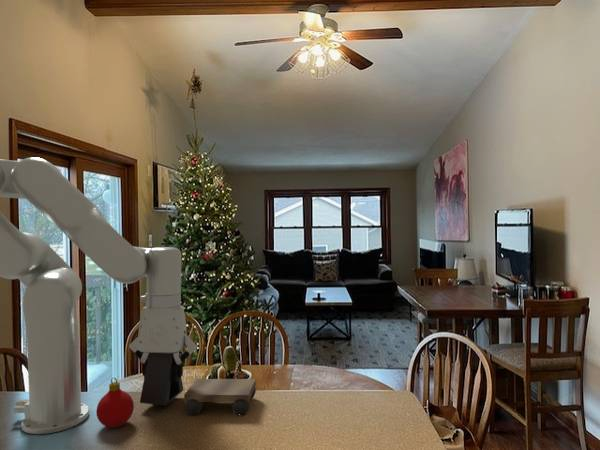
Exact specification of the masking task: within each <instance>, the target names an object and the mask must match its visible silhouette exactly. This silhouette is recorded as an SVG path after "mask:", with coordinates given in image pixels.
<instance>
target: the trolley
mask: <svg viewBox="0 0 600 450" xmlns="http://www.w3.org/2000/svg"><path fill="white" fill-rule="evenodd" d="M256 380H257V379H256V378H196V379H195V380H194V381H193V383H192V385H191V386H190V387H189V388H188V389H187V390H186V392H184V393H185V394H184V396H183V400H184V403H185V404H184V410H185V412H186V413H187V415H190V416H197V415H198V414H199V413H201V411H202V409H203V406H204V403H209V402H210V403H232V406H231V407H232V411H233V413H234V414H236V415H237V416H240V415H242V416H245V415H246V414H247V413H248V412H249V411H250V407H251V400H252V399H254V398H255V395H256V392H257V390H256V388H257V387H256V385H257V384H256ZM239 414H240V415H239Z"/></svg>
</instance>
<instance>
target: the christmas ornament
mask: <svg viewBox="0 0 600 450" xmlns="http://www.w3.org/2000/svg"><path fill="white" fill-rule="evenodd" d="M113 379H114V380H115V381H114V382H113ZM120 386H121V385H120V382H118V380H117V378H116V377H112V378H111V379H110V383H109V384H108V388H109V389H108V392H107V393H105V394H104V395H103V396H102V397H101V398H100V400H99V401H98V404H97V406H96V417H97V420H98V422H100V424H102V425H103V426H105V427H107V428H114V429H115V428H118V427H121V426H123V425H124V424H126V423H127V422H128V421H129V420H130V419H131V417H132V415H133V412H134V408H135V404H134V400H133V397H132V396H131V395H130V394H129V393H128V392H126V391H124V390H122V389H120Z"/></svg>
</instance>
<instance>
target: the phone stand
mask: <svg viewBox="0 0 600 450" xmlns="http://www.w3.org/2000/svg"><path fill="white" fill-rule="evenodd" d="M175 362H176V361H175V359H174V356H173V354H168V353H149V355H148V361H147V366H146V372H145V377H144V376H143V384H142V388H141V394H140V399H139V403H140V404H147V405H155V406H164V407H165V406H167V405H168V404H169V403H170V402H172V400H174V399H175V398H177V397H178V396H179V395H180V394H181V393H182V392H184V384H183V380H182V379H183V378H182V377H181V378H180V379H179V380H178V381H177V382H174V381H173V371H174V364H175Z"/></svg>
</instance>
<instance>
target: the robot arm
mask: <svg viewBox="0 0 600 450" xmlns="http://www.w3.org/2000/svg"><path fill="white" fill-rule="evenodd" d="M0 198H6V199H8V198H9V199H20V200H21V199H23V200H27V201H28V202H29V203H30V205H32V206H33V207H35V208H36V209H37V210H38V211H39V213H41V214H43V216H45V217H46V218H47V219H48V220H49V221H50V222H51V223H53V224H54V226H56V227H57V228H58V229H59V230H60V231H61V232H62V233H63V235H65V237H67V239H69V240H70V241H71V242H72V243H73V244H74V245H76V247H77V248H78V249H79V250H80V251H82V253H84V254H85V256H86V257H88V259H89V260H91V261H92V262H93V263H94V264H95V265H96V266H97V267H98V268H100V269H101V270H102V271H103V272H105V274H107V276H109V277H110V278H111V279H113V280H114V281H115V282H118V283H119V284H123V285H125V284H126V285H130V284H133V283H136V282H138V281H139V280H141V279H142V277H143V278H144V277H146V293H145V294H144V295H141V296H140V302H143V303H145V306H143V307H142V310H141V313H140V318H139V323H138V324H139V326H138V332H137V334H138V335H137V337H136V338H135V339H134V340H133V341H132V342H131V343H130V344H129V345H128V347H129V349H130V350H131V351H132V352H133V353H134V354H135V356H136V357H137V359H139V360H140V363H142V376H143V378H144V377H145V372H146V366H147V361H148V355H149V353H168V354H173V356H174V359H175V361H176V362H175V364H174V371H173V381H174V382H177V381H178V380H179V379H180V378H182V377H183V373H184V371H183V370H184V361H185V360H186V359H187V358H188V357H189V356H190V355H192V353H193V352H195V351H196V349H197V348H198V345H197V344H196V343H195V342H194V341H193V340H192V339H191V337H190V336H189V335H188V334H187V333H188V331H187V321H186V314H185V310H184V306H183V305H182V304H181V303H182V301H181V300H182V299H181V298H182V296H181V295H182V291H181V290H182V289H181V288H182V252H181V250H180V249H179V248H177V247H173V246H158V247H157V246H156V247H142V246H133V245H132V244H131V243H130V242H129V241H128V240H126V239H125V238H124V237H123V236H122V235H121V234H120V233H119V232H118V231H117V230H116V229H115V228H114V227H113V226H112V225H111V224H110V223H109V222H108V221H107V220H106V218H105V217H104V215H103V214H102V212H101V210H100V209H99V208H98V207H97V205H95V204H94V203H93V202H92V201H91V199H89V198H88V197H87V196H86V194H84V193H83V192H81V191H80V190H79V189H78V188H77V186H75V184H73V183H72V181H70V180H69V179H68V178H66V177H65V176H64V174H63V173H62V172H61V170H60V169H59V168H58V167H57V166H55V164H53V163H51V162H50V161H48V160H46V159H44V158H40V157H34V156H33V157H26V158H24V159H21V160H10V159H0ZM0 278H1V279H2V278H3V279H7V280H17V279H18V281H20V282H21V283H22V284H23V286H25V287H26V288H25V290H24V293H23V296H22V311H23V318H24V323H25V336H26V351H27V373H28V374H27V377H28V399H27V398H26V399H23V398H22V399H18V400H16V402H15V406H14V407H13V410H12V411H13V413H14V414H22V413H23V414H24V418H23V419H22V420H21V423H20V424H21V425H20V426H21V427H20V428H21V430H22V431H23V432H25V433H27V434H31V435H45V434H51V433H52V434H53V433H57V432H61V431H65V430H68V429H70V428H73V427H75V426H77V425H79V424H81V423H83V422H84V421H85V420H86V419H87V418H88V417H89V415H90V408H89V405H87V404H85V403H82V398H81V397H82V393H81V369H80V367H81V365H80V364H81V363H80V341H79V340H80V339H79V338H80V337H79V321H78V314H77V313H78V311H77V302H78V301H79V298H80V297H81V295H82V292H83V291H82V290H83V284H82V280H81V278H80V276H79V275H78V273H76V271H75V270H74V269H73V268H72V267H71V266H70V265H69V264H68V263H67V262H66V261H65V260H64V259H63V257H61V256H60V255H59V254H58V253H57V252H56V251H55V250H54V249H53V248H52V246H50V245H49V244H48V243H47V242H46V241H45V240H44V239H42V238H41V237H39V236H38V235H36V234H33V233H31V232H24V231H23V232H22V230H19V228H18V227H16V226H15V225H14V224H13V223H12V222H11V221H10V220H9V219H8V218H7V217H6V215H4V214H3V212H1V211H0ZM185 347H187V350H185V352H183V348H185Z"/></svg>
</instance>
